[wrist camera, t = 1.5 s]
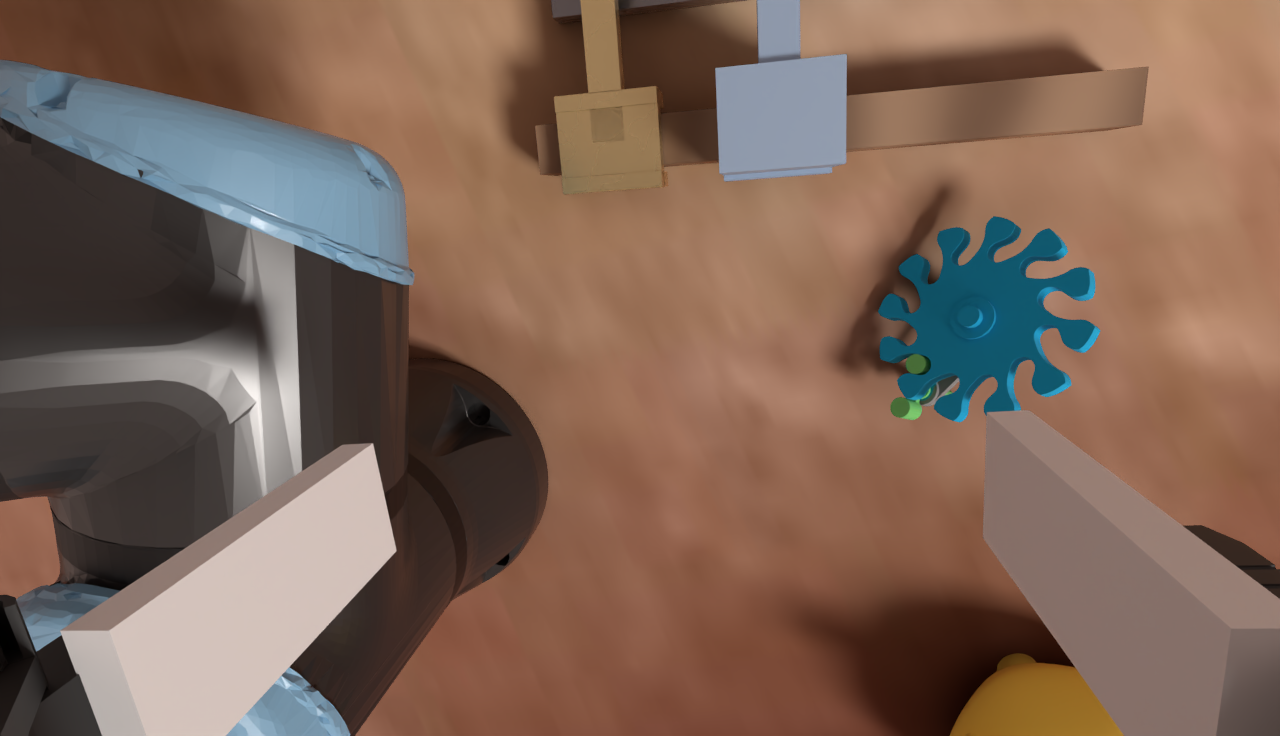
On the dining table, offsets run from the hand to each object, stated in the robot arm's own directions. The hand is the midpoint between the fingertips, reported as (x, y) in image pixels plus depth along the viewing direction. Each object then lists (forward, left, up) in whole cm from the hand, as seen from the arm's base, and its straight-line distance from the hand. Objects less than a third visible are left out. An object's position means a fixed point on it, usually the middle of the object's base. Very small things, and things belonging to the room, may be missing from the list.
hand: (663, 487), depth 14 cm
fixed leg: (-5, +13, -23) cm, 27 cm away
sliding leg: (+3, +13, -23) cm, 26 cm away
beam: (+5, +9, -24) cm, 26 cm away
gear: (+12, -1, -25) cm, 28 cm away
